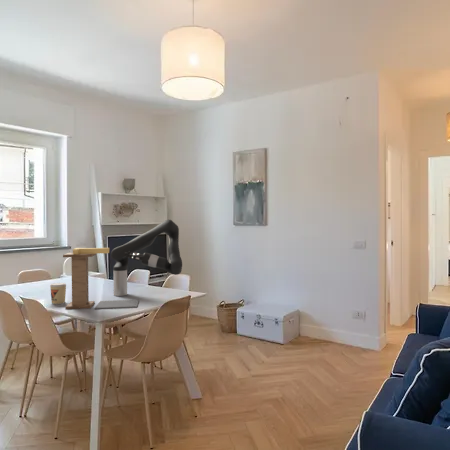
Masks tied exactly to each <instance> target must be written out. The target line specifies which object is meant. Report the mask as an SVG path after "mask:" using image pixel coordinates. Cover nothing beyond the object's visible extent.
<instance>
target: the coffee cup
mask: <svg viewBox="0 0 450 450" xmlns="http://www.w3.org/2000/svg"><path fill="white" fill-rule="evenodd" d="M49 287H50V297H51V300H50V301H51V304H52V303H53V304H52V305H61V304H65V303H66V292H67V284H66V282H56V283H55V282H54V283H50V286H49Z"/></svg>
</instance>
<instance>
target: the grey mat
mask: <svg viewBox="0 0 450 450" xmlns="http://www.w3.org/2000/svg"><path fill="white" fill-rule="evenodd" d="M139 302H140V299H120V300H119V299H117V300H115V299H114V300H100V301H99V302H98V303H97V304H96V305H95V307H94V310H108V309H111V310H113V308H114V309H130V308H131V309H133V308H136V309H137V307H138V305H139Z"/></svg>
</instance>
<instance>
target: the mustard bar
mask: <svg viewBox="0 0 450 450" xmlns="http://www.w3.org/2000/svg"><path fill="white" fill-rule="evenodd" d="M72 253H73V254H95V253H96V254H110V247H75V248H73V249H72Z"/></svg>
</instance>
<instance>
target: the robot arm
mask: <svg viewBox="0 0 450 450" xmlns="http://www.w3.org/2000/svg"><path fill="white" fill-rule="evenodd" d="M161 234H165V235H167V236H168V238H169V240H170V241H169V242H170V243H169V245H168V247H167V251H168V258H169V260H170V262H169V260H168V258H165V257H162V256H158V255H156V254H153V253H150V252H144V253H143V254H142V253H139V252H138V251H141V250H144V249H145V248H148V247H150V246H151V245H152V244H153V243H154V242H155V240H156V238H157V237H158V236H160V235H161ZM179 234H180V228H179V226H178V225H177V224H176V222H174V221H173V220H171V219H166V220H163V221H162V222H161V223H159V224H158V225H156V226H155V227H152V228H151V229H149V230H148V231H146V232H144V233H142V234H140V235H138V236H136V237H134V238H133V239H131V240H130V241H128V242H126V243H124V244H123V245H120V246H119V245H118V246H117V247H115V248H113V249H112V250H111V252H110V257H111V259H112V260H114V261H115V264H114V265H113V269H112V271H113V296H115V297H121V296H123V297H124V296H127V295H128V266H129V259H131V260H135V261H138V262H139V261H141V265H143V266H147V267H151V268H157V269H160V270H163V271H165V272H166V273H169V274H171V275H173V276H174V275H175V276H176V275H177V276H178V275H180V274H181V273H182V269H183V260H182V258H181V257H182V256H181V253H180V252H181V251H180V246H179V242H180V241H179V239H180V238H179V237H180V235H179Z"/></svg>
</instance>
